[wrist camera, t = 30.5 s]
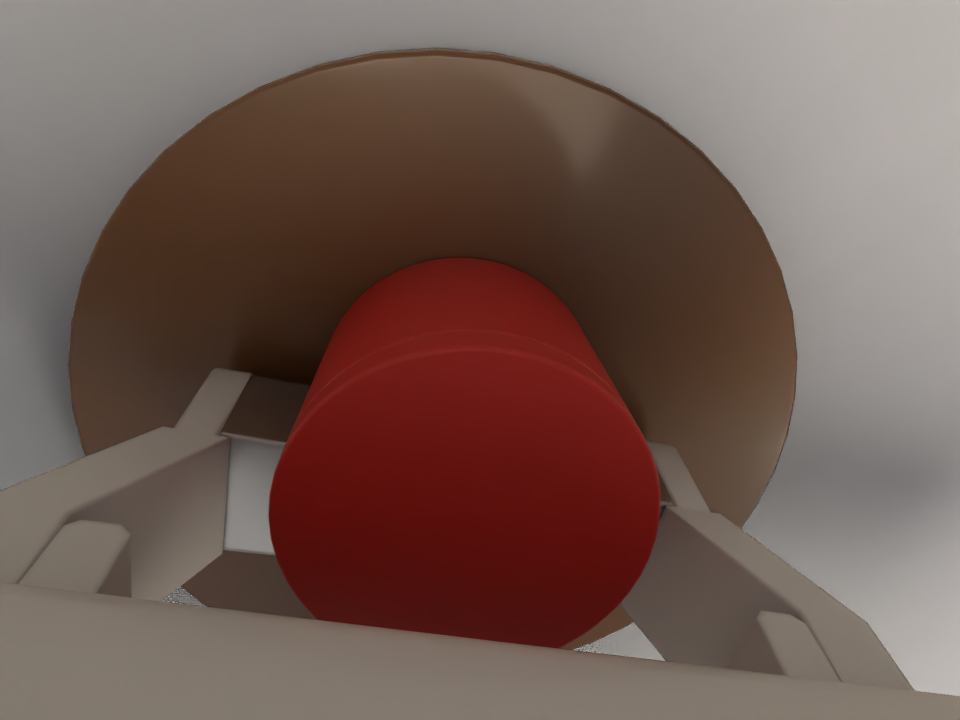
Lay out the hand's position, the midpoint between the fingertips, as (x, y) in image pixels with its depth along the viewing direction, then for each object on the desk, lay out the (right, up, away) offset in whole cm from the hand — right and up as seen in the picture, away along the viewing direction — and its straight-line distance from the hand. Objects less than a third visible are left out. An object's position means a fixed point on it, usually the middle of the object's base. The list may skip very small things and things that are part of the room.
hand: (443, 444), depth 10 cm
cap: (0, +1, 0) cm, 1 cm away
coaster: (0, 0, +1) cm, 1 cm away
